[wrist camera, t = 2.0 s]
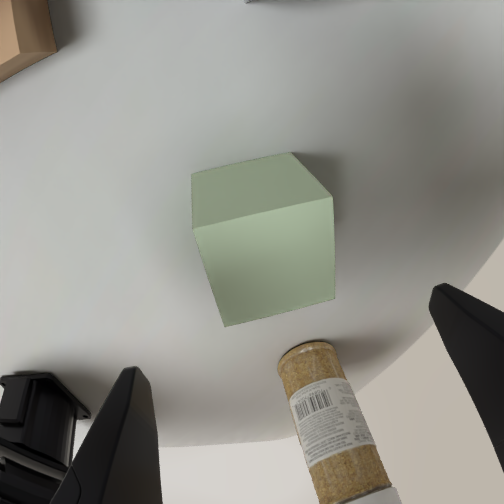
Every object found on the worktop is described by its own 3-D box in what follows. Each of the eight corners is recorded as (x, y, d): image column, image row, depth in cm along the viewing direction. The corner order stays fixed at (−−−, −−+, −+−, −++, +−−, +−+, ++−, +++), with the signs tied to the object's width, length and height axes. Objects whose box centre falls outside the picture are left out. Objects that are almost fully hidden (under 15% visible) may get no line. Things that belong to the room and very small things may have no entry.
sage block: (299, 234, 17) (335, 298, 13) (214, 255, 16) (224, 327, 12) (289, 151, 14) (332, 196, 10) (191, 173, 14) (192, 228, 10)
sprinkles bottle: (285, 383, 24) (332, 540, 13) (268, 353, 22) (322, 542, 11) (339, 362, 24) (402, 514, 13) (331, 329, 21) (409, 510, 10)
